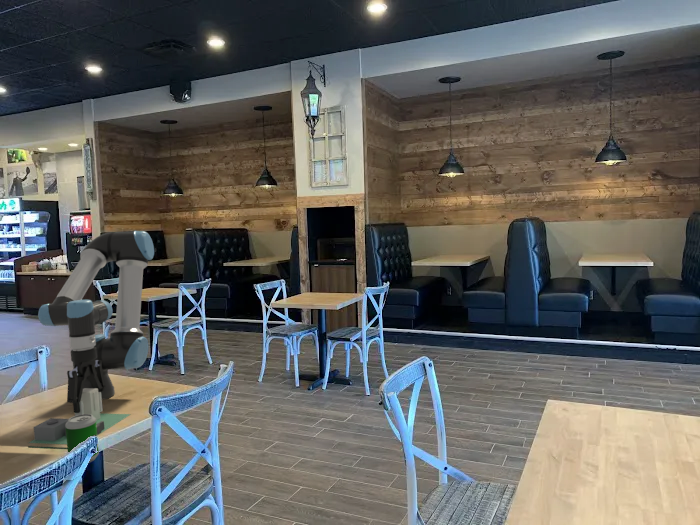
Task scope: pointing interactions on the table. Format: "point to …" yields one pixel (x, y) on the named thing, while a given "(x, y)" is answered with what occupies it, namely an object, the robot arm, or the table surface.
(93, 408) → the plug
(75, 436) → the soda can
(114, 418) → the board
